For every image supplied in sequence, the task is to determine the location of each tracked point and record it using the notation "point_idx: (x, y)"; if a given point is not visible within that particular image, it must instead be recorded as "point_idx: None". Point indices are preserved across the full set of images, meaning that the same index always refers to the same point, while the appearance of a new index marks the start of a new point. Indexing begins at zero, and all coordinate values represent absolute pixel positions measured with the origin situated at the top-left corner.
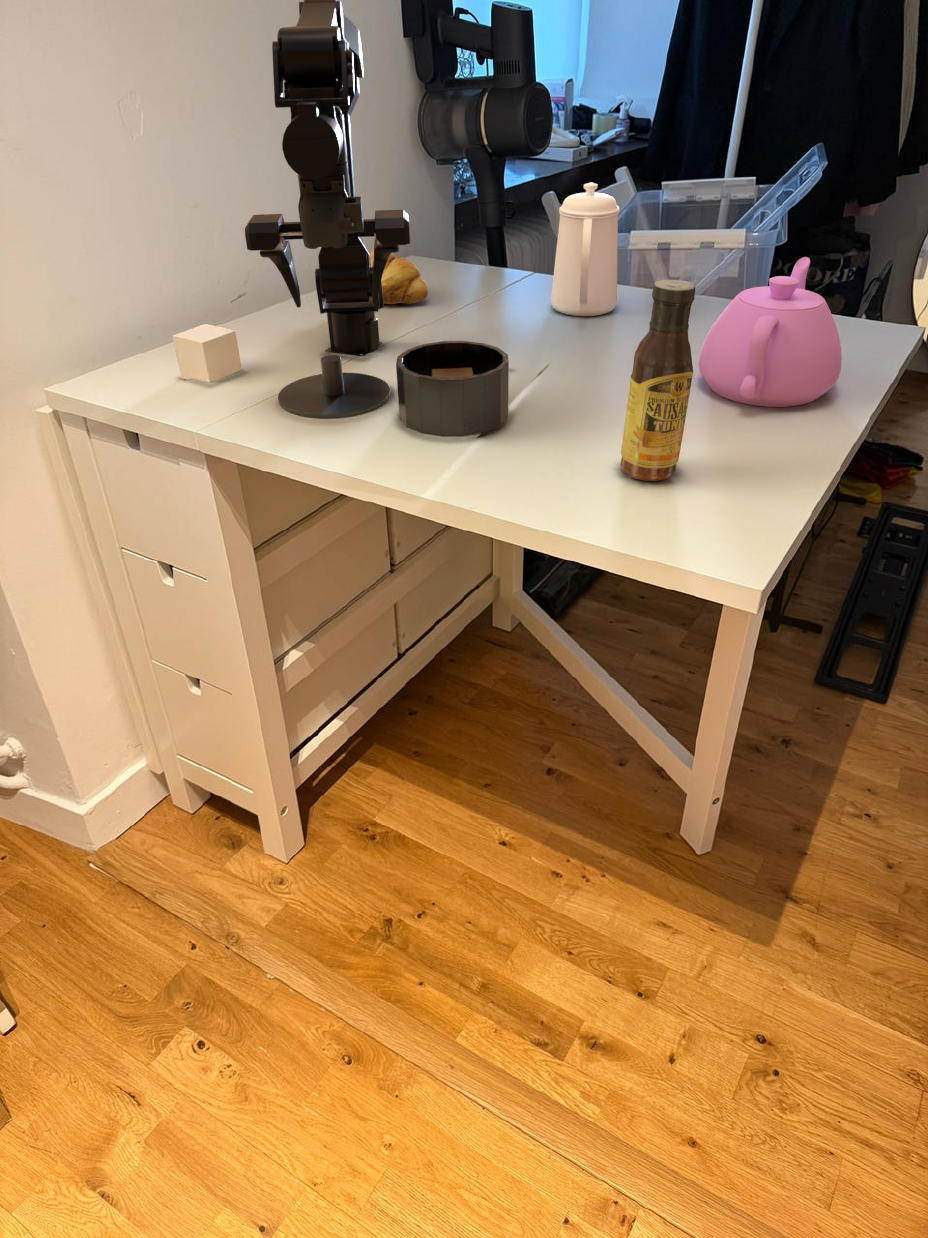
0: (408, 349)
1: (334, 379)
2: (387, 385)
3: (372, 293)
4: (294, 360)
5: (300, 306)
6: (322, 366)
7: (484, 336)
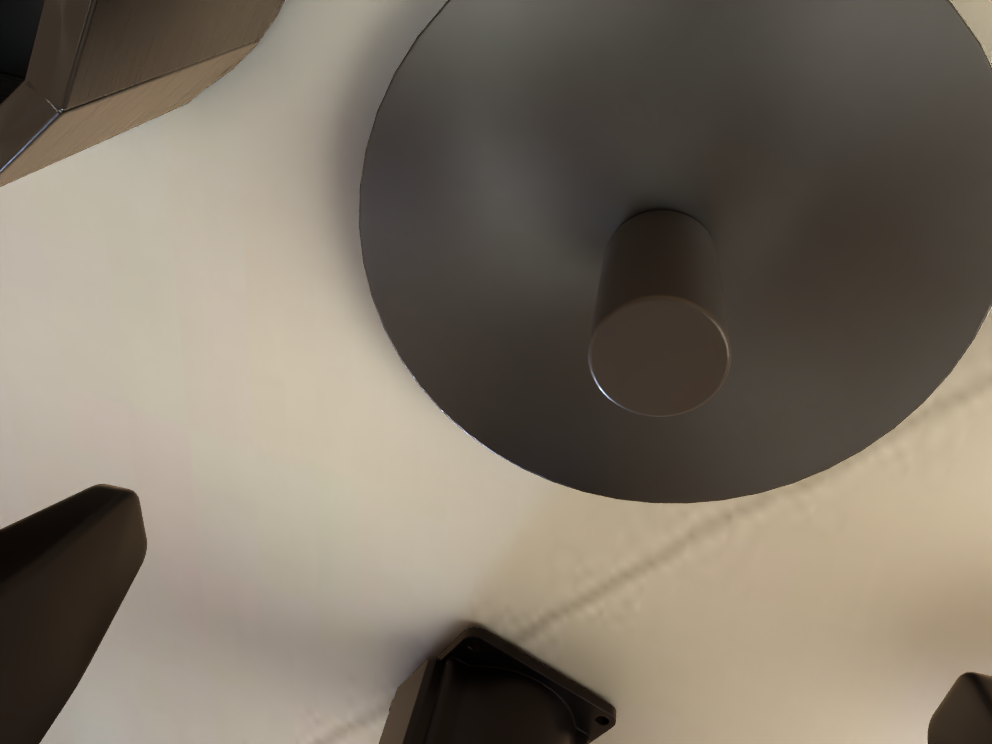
0: (50, 103)
1: (657, 245)
2: (372, 272)
3: (39, 552)
4: (752, 704)
5: (956, 683)
6: (724, 318)
7: None
